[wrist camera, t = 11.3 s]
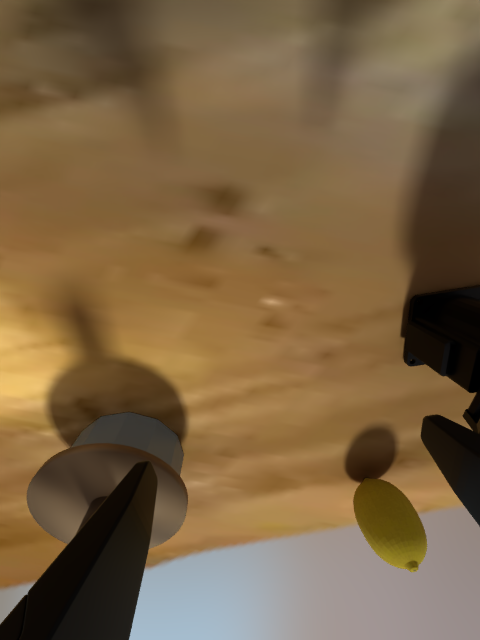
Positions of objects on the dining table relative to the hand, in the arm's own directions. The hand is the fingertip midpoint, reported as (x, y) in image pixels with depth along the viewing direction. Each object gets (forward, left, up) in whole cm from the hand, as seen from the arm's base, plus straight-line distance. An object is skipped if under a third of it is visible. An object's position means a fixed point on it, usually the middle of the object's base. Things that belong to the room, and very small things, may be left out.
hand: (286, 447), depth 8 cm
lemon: (-10, +22, -13) cm, 28 cm away
